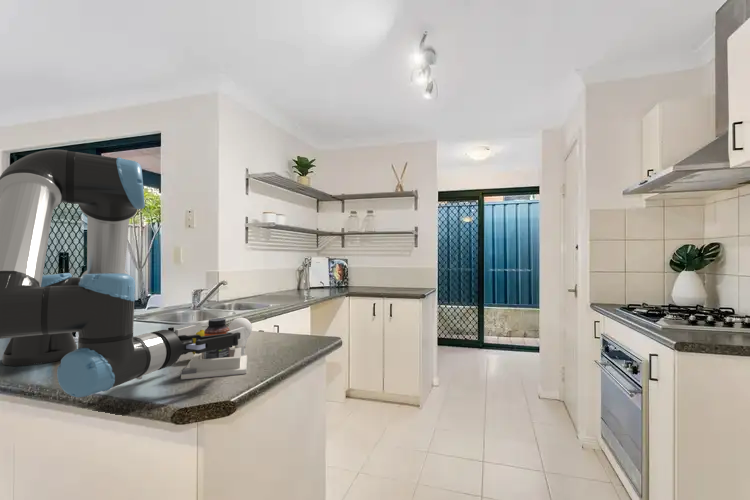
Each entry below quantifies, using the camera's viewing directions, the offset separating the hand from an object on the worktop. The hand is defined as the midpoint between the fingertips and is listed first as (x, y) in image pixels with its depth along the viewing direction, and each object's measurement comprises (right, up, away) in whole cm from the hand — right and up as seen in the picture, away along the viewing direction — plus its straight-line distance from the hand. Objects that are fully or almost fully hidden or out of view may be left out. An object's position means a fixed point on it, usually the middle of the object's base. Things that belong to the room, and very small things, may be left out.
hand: (218, 331), depth 92 cm
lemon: (-9, -10, +9) cm, 15 cm away
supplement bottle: (0, -8, 0) cm, 8 cm away
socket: (0, -9, 0) cm, 9 cm away
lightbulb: (+1, -10, +11) cm, 15 cm away
